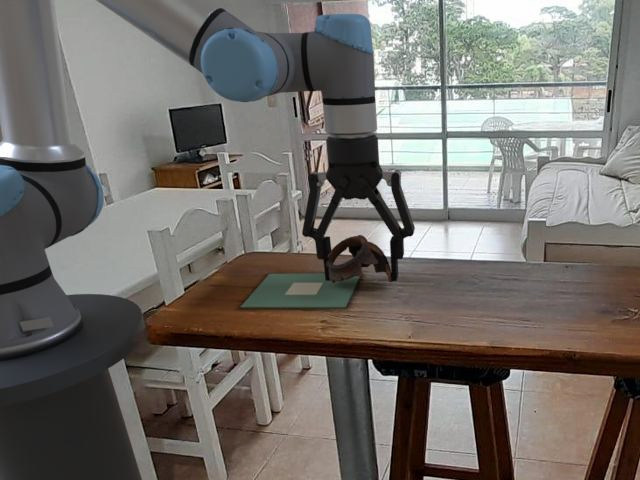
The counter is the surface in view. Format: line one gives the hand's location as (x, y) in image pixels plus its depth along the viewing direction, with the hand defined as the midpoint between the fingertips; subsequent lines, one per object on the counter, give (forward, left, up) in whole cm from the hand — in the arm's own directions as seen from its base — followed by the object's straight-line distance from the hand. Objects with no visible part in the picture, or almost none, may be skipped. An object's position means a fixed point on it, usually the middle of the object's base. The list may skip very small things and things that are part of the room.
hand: (362, 277), depth 92 cm
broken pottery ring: (0, 0, -1) cm, 1 cm away
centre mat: (-9, -2, -1) cm, 10 cm away
